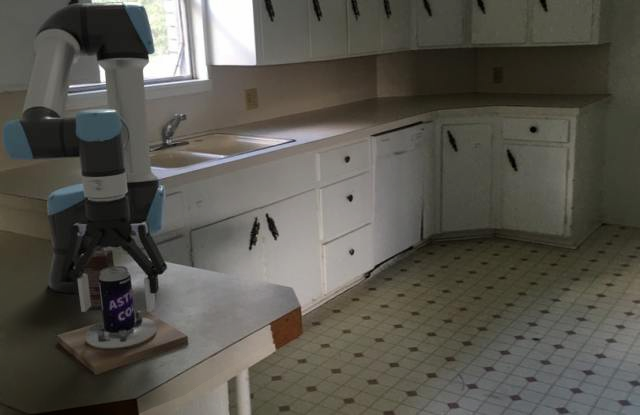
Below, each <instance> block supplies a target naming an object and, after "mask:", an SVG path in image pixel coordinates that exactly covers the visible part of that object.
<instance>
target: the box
mask: <svg viewBox="0 0 640 415" xmlns="http://www.w3.org/2000/svg"><path fill="white" fill-rule="evenodd" d="M84 253H85V252H84ZM84 253H83V254H84ZM83 254H82V255H81V256H79V259H81V257H82V256H83ZM114 263H115V262H114V255H113V250H111V249H110V250H106V251H96V252H95V253H94V255H93V257H92V258H91V260H90V261H89V263H88V265H87V266H86V268H85V269H84V272H83V273H82V275H83V274H87V276H88V284H89V293H90V301H91V307H90V308H89V309H88V310H96V309H97V310H99V309H101V310H102V304H101V295H100V287H99V277H100V271H101V270H103V269H105V268H108V267H113V266H115V264H114Z"/></svg>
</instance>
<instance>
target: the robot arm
mask: <svg viewBox="0 0 640 415" xmlns="http://www.w3.org/2000/svg"><path fill="white" fill-rule="evenodd" d="M149 19H150V18H149V16H148V12H147V9H146V8H145V6H144V5H143V4H141V3H140V2H129V1H128V2H126V1H119V2H117V1H115V2H91V3H89V2H88V3H83V2H82V3H81V2H79V3H78V2H77V3H72V4H68V5H67V6H64V7H61V8H59V9H58V10H56V11H55V12H54V13H52V14H51V15H50V16H48V18H47V19H45V21H44V22H43V23H42V24H41V25H40V27H39V29H38V30H37V32H36V35H35V37H34V38H35V39H34V41H33V49H34V53H35V55H36V56H35V60H34V64H33V68H32V71H31V76H30V80H29V84H28V87H27V88H28V89H27V93H26V96H25V101H24V105H23V109H22V113H21V118H20V119H19V118H16V119H13V120H8V121H6V122H4V124H3V127H2V144H3V148H4V151H5V153H6V155H7V157H9V159H11V160H15V161H18V160H19V161H21V160H22V161H36V160H51V159H66V158H79V160H80V161H79V162H80V169H81V179H82V183H80V184H79V183H78V184H73V185H69V186H64V187H61V188H59V189H56V190H54V191H52V192H51V193H50V194H49V195H48V196H47V199H46V207H47V213H46V215H47V217H48V225H49V232H50V239H51V245H52V254H53V255H52V260H51V265H50V269H49V275H48V283H49V285H48V286H49V288H50V289H51V290H52V291H54V292H58V293H63V294H64V293H65V294H68V293H70V294H71V293H72V294H74V293H75V294H76V295H77V294H79V295H78V296H79V303H80V310H81V312H82V313H86V312H87V311H89V310H90V309H89V308H90V307H91V301H90V293H89V284H88V276H87V274H83V275H82V273H83V272H84V269H85V268H86V266H87V265H88V263H89V261H90V260H91V258H92V257H93V255H94V253H95V252H96V251H107V249H106V248H110V247H111V248H118V249H119V247H121V249H122V250H123V251H124V252H125V251H126V253H128V254H129V256H130V257H131V258H132V260H133V261H134V262H135V263H136V264H137V265H138V267H139V268H140V269H141V270H142V271H143V272H144V274H146V275H145V277H144V278H143V283H144V285H143V286H144V294H145V303H146V311H147V312H149V313H152V312H153V310H154V309H155V308H156V307H157V306H156V297H155V296H156V295H155V294H157V293H158V292H159V289H160V287H159V286H160V285H159V277H158V276H159V275H163V273H165V271H166V270H168V265H167V264H166V262H165V260H164V257H163V256H162V253H161V252H160V250H159V248H158V246H157V245H156V242H155V241H154V239H153V235H158V234H160V233H161V232H162V230H163V228H164V223H165V213H166V201H167V200H166V186H164V185H163V184H160V182H159V177H158V176H157V175H155V174H154V173H153V172H152V165H151V152H150V151H151V150H150V141H149V140H150V139H149V129H148V128H149V127H148V115H147V105H146V104H147V103H146V93H145V92H146V91H145V79H144V69H145V67H146V66H147V65H148V64H149V63H150V58H149V56H150V55H153V54H154V53H155V52H156V51H155V49H156V48H155V42H154V38H153V32H152V29H151V24H150V20H149ZM83 56H85V57H86V56H89V57H91V56H92V57H94V56H96V64H98V65H99V66H100V67H101V69H103V70H104V77H105V87H106V88H105V90H106V99H107V100H106V101H107V108H98V109H96V108H95V109H88V110H81V111H79V112H77V113H76V115H75V116H73V117H65V112H66V106H67V102H68V101H67V100H68V97H69V96H68V95H69V89H70V84H71V80H72V74H73V67H74V64H76V63H77V62H78V60H79V58H80V57H83ZM133 237H138V238H139V241H140V243H141V245H142V246H143V249H144V251H145V252H146V254H145V252H144V251H143V250H142V249H141V248H140V246H139V245H137V244H136V241H135V239H134V238H133ZM84 252H85V253H84ZM83 253H84V254H83ZM82 254H83V256H82V257H81V259H79V256H81V255H82Z"/></svg>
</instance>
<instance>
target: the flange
mask: <svg viewBox="0 0 640 415" xmlns="http://www.w3.org/2000/svg"><path fill="white" fill-rule="evenodd" d="M134 312H135V316H136V317H135V326H134V327H133V328H132V330H131V331H130V332H129V333H126V330H125V329H120V330H119V335H112V334H110V333H109V332H107V331H106V330H105V329H104V322H103V321H101V322H102V323H100V322H98V323H99V324H97V325H95V326H93V327H91V328H90V329H89V330H88V331H87V332H86V334H85V341H86V344H87V345H88V346H89V347H91V348H93V349H97V350H103V351H115V350H124V349H129V348H133V347H136V346H139V345H142V344H144V343H146V342H148V341H150V340H151V339H152V338H153V337H154V336H155V335H156V333H157V328H156V324H155V322H153V321H152V320H150V319H147V318H142V311H140V310H136V311H134Z"/></svg>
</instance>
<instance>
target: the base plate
mask: <svg viewBox="0 0 640 415" xmlns="http://www.w3.org/2000/svg"><path fill="white" fill-rule="evenodd" d="M139 311H142V318H147V319H150V320H152V321H153V322H155V324H156V328H157V333H156V335H155V336H154V337H153V338H152V339H151V340H150V341H148V342H146V343H144V344H142V345H139V346H136V347H133V348H129V349H124V350H115V351H103V350H97V349H93V348H91V347H89V346H88V345H87V344H86V341H85V334H86V332H87V331H88V330H89V329H90V328H91V327H93V326H95V325H97V324H99V323H102V322H104V321H101V322H97V323H94V324H90V325H87V326H83V327H80V328H76V329H72V330H70V331H67V332H63V333H60V334H57V335H56V338H57V343H58V345H60V346H61V347H62V348H64V350H66V351H67V352H68V353H69V354H71V355H72V356H73V357H74V358H75V359H76V360H78V362H80V363H81V364H82V365H83V366H85V367H86V368H87V369H88V370H89V371H91V372H92V374H94V375H95V376H97V375H100V374H103V373H105V372H108V371H111V370H114V369H118V368H120V367H123V366H126V365H129V364H132V363H135V362H139V361H140V360H144V359H146V358H148V357H149V358H150V357H152V356H154V355H155V356H156V355H158V354H161V353H163V352H166V351H170V350H171V349H175V348H177V347H181V346H184V345H187V344H189V337H188V336H189V335H187V334H186V333H184V332H182V331H181V330H179V329H177V328H176V327H174V326H172V325H170V324H169V323H168V322H165V321H164V320H162V319H160V318H159V317H157V316H156V315H154V314H152V312H147V309H146V310H145V309H141V310H139ZM135 312H136V311H134V314H135ZM135 317H136V316H135Z"/></svg>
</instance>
